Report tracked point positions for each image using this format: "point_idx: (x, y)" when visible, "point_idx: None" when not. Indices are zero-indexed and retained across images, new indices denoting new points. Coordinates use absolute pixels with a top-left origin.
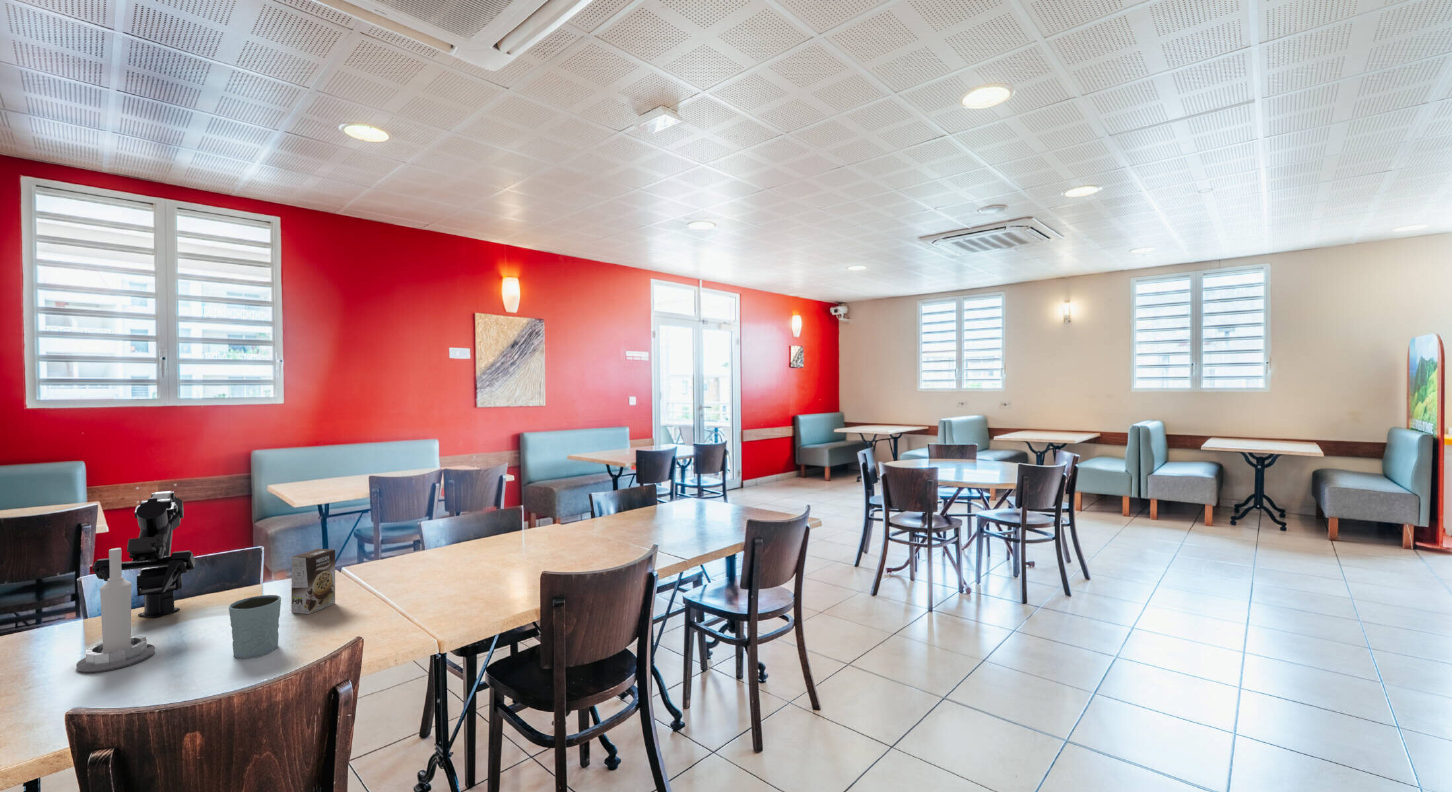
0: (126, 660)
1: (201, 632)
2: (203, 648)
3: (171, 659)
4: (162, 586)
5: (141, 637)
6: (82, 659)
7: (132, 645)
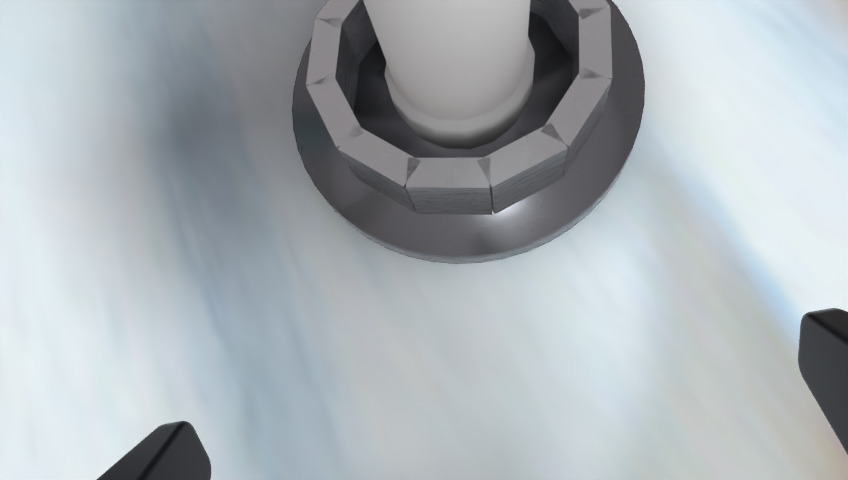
0: None
1: None
2: (81, 152)
3: (191, 44)
4: (145, 464)
5: (363, 148)
6: (637, 76)
7: (392, 100)
